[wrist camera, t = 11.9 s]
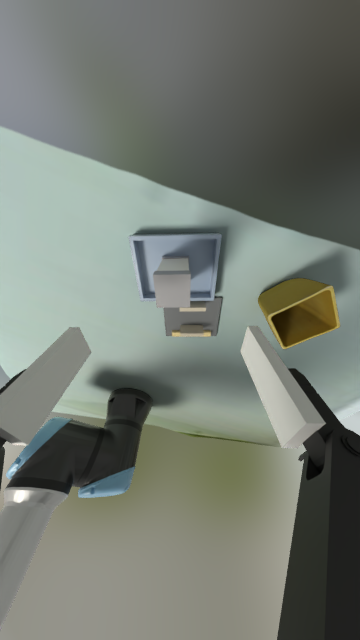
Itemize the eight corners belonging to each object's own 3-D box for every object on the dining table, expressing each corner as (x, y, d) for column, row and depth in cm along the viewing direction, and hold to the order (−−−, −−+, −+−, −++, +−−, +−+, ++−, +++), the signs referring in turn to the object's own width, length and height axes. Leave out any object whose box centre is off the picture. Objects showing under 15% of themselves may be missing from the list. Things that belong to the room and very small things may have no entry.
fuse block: (166, 334, 37) (165, 344, 34) (163, 297, 31) (160, 305, 29) (215, 334, 37) (218, 344, 34) (221, 297, 31) (225, 305, 28)
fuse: (164, 281, 29) (156, 307, 21) (162, 255, 26) (152, 274, 18) (188, 280, 29) (190, 307, 20) (188, 255, 26) (190, 274, 18)
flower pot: (293, 265, 27) (334, 284, 20) (304, 301, 31) (341, 327, 24) (246, 291, 30) (266, 316, 23) (261, 321, 34) (283, 350, 27)
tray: (143, 295, 31) (140, 301, 29) (133, 234, 25) (128, 236, 23) (211, 294, 31) (213, 300, 29) (218, 232, 25) (221, 234, 22)
